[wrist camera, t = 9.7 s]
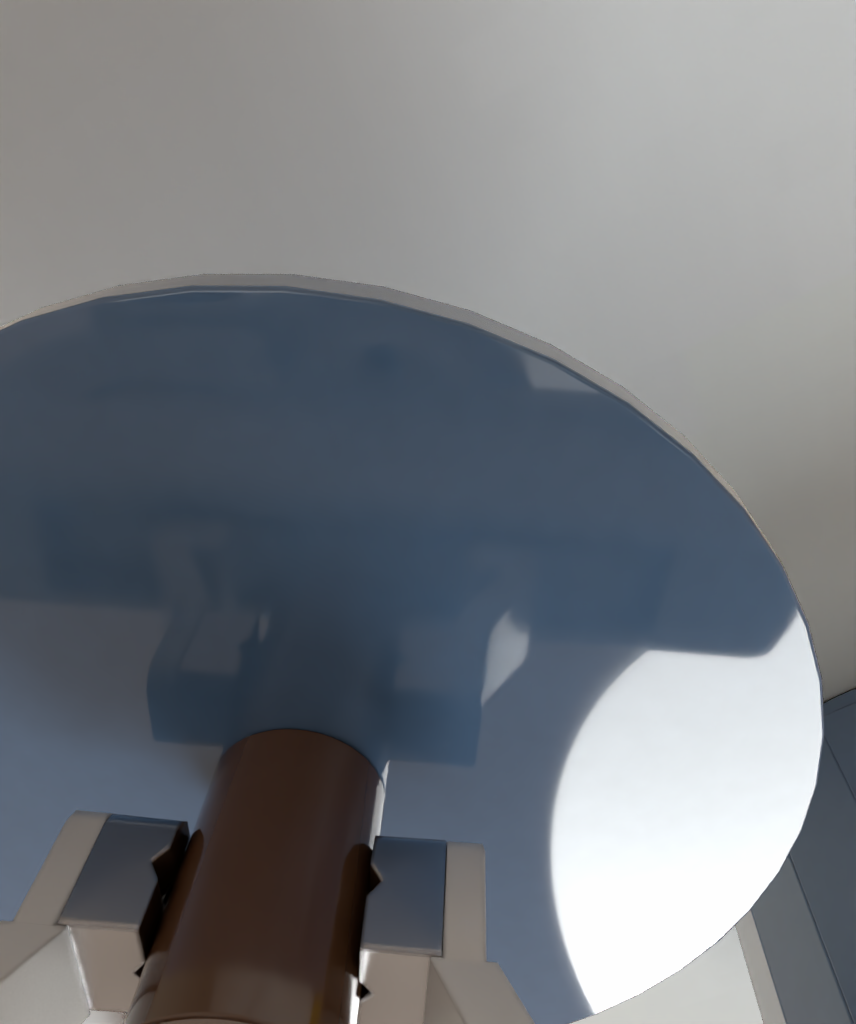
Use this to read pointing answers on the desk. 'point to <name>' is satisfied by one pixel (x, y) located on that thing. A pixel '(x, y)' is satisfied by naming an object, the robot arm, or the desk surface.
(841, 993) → the pot
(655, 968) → the lid
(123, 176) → the desk surface
